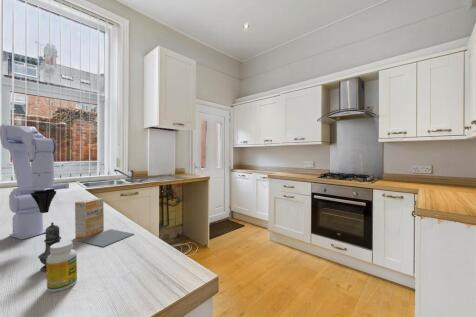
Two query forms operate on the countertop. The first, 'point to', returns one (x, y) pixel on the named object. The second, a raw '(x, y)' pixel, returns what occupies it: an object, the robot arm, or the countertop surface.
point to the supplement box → (89, 217)
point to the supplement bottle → (61, 266)
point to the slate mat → (106, 238)
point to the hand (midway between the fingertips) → (44, 212)
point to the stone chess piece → (49, 243)
